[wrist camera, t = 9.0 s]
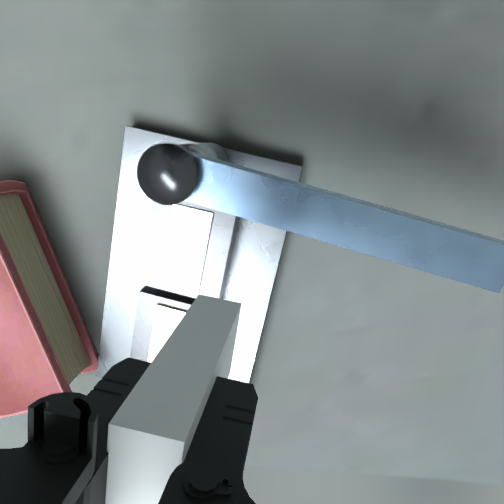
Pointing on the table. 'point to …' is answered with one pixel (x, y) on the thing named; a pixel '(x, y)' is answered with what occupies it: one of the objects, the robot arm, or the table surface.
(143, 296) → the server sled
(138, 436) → the robot arm
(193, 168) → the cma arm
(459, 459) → the table surface
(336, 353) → the table surface
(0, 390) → the book
